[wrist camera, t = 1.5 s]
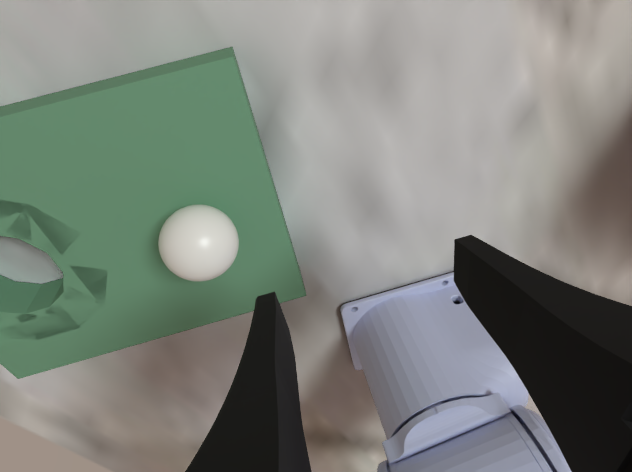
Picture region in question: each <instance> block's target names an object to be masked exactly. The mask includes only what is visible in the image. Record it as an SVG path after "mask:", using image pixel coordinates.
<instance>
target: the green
mask: <svg viewBox="0 0 632 472" xmlns="http://www.w3.org/2000/svg"><path fill="white" fill-rule="evenodd" d="M190 205H208V206H212V207H214V208H216V209H219V210H220V211H222V212H223V213H225V214H226V215H227V216H228V217H229V218H230V219H231V221H232V222H233V224H234V226H235V228H236V230H237V233H238V239H239V248H238V252H237V256H236V258H235V260H234V262H233V264H232V265H231V266H230V267H229V268H228V269H227V270H226V271H225V272H224V273H223V274H221V275H220V276H218V277H216V278H214V279H211V280H207V281H189V280H186V279H183V278H181V277H179V276H177V275H175V274H174V273H173V272H171V271H170V270H169V269H168V268H167V266H166V265H165V263H164V262H163V260H162V258H161V256H160V252H159V246H158V240H159V234H160V231H161V228H162V226H163V224H164V223H165V221H166V220H167V219H168V218H169V217H170V216H171V215H172V214H173V213H174V212H176V211H177V210H179V209H181V208H183V207H186V206H190ZM0 236H4V237H12V238H18V239H20V240H22V241H24V242H26V243H28V244H30V245H32V246H34V247H36V248H38V249H40V250H42V251H44V252H46V253H48V255H49V256H50V257H51V258H52V260H53V261H54V262H55V263H56V264H57V266H58V267H59V268H60V269H61V271H62V272H63V278H62V279H59V280H55V281H52V282H48V283H44V284H35V283H25V282H15V281H12V280H10V279H8V278H6V277H3V276H1V275H0V364H1V365H3V366H4V367H5V368H6V369H7V370H8V371H10V372H11V373H12V374H13V375H14V376H15V377H17V378H18V379H20V378H23V377H26V376H30V375H33V374H37V373H40V372H44V371H47V370H51V369H54V368H58V367H61V366H64V365H68V364H71V363H75V362H78V361H82V360H85V359H89V358H92V357H96V356H99V355H103V354H106V353H109V352H113V351H116V350H120V349H123V348H127V347H130V346H134V345H137V344H141V343H144V342H147V341H151V340H154V339H158V338H161V337H165V336H168V335H172V334H175V333H179V332H182V331H186V330H189V329H192V328H196V327H199V326H203V325H206V324H210V323H213V322H217V321H220V320H224V319H227V318H231V317H234V316H237V315H241V314H244V313H248V312H251V311H254V308H255V301H256V298H257V297H258V296H261V295H264V294H268V293H271V292H275V293H276V296H277V299H278V301H279V303H282V302H286V301H289V300H293V299H296V298H300V297H303V296H306V292H305V288H304V284H303V280H302V276H301V272H300V269H299V265H298V262H297V259H296V255H295V252H294V249H293V245H292V242H291V239H290V235H289V232H288V229H287V226H286V222H285V219H284V216H283V212H282V209H281V206H280V202H279V199H278V196H277V192H276V189H275V186H274V183H273V179H272V176H271V173H270V169H269V166H268V163H267V159H266V156H265V153H264V150H263V146H262V143H261V140H260V136H259V133H258V130H257V126H256V123H255V120H254V116H253V113H252V110H251V107H250V103H249V100H248V97H247V93H246V90H245V87H244V83H243V80H242V77H241V73H240V70H239V67H238V64H237V60H236V57H235V54H234V50H233V47H229V48H225V49H222V50H218V51H214V52H210V53H206V54H202V55H198V56H195V57H191V58H187V59H183V60H179V61H175V62H171V63H168V64H164V65H160V66H156V67H152V68H148V69H144V70H141V71H137V72H133V73H129V74H125V75H121V76H117V77H113V78H110V79H106V80H102V81H98V82H94V83H90V84H86V85H83V86H79V87H75V88H71V89H67V90H63V91H59V92H56V93H52V94H48V95H44V96H40V97H36V98H32V99H29V100H25V101H21V102H17V103H13V104H9V105H5V106H2V107H0Z"/></svg>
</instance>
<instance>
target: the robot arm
mask: <svg viewBox="0 0 632 472" xmlns="http://www.w3.org/2000/svg"><path fill="white" fill-rule="evenodd" d="M443 281H444V282H443ZM353 307H355V308H353ZM340 311H341V315H342V319H343V324H344V328H345V332H346V336H347V340H348V345H349V349H350V353H351V357H352V362H353V366H354V368H355V369H356V370H362V369H363V371H364V374H365V377H366V380H367V382H368V385H369V388H370V391H371V394H372V397H373V400H374V403H375V406H376V408H377V411H378V414H379V417H380V420H381V423H382V426H383V429H384V432H385V435H386V437H387V440H385V441H383V443H382V445H383V448H384V451H385V454H386V457H387V460H385V461H383V462H381V463H380V464H379V465H378V469H377V472H632V306H629V305H626V304H623V303H620V302H617V301H613V300H610V299H607V298H604V297H601V296H598V295H595V294H593V293H590V292H587V291H585V290H582V289H580V288H577V287H574V286H572V285H569V284H567V283H565V282H562V281H560V280H558V279H555V278H553V277H551V276H549V275H547V274H544V273H542V272H540V271H538V270H536V269H534V268H532V267H530V266H528V265H526V264H524V263H522V262H520V261H518V260H516V259H514V258H513V257H511V256H509V255H507V254H505V253H503V252H501V251H500V250H498V249H496V248H494V247H492V246H491V245H489V244H487V243H485V242H483V241H482V240H480V239H478V238H476V237H474V236H472V235H469V236H466V237H462V238H459V239H455V249H454V272H452V273H449V274H445V275H442V276H438V277H435V278H431V279H428V280H425V281H421V282H418V283H414V284H411V285H407V286H404V287H401V288H397V289H394V290H390V291H387V292H383V293H380V294H377V295H373V296H370V297H366V298H363V299H359V300H356V301H353V302H349V303H346V304H343V305H342V306H341V308H340ZM528 393H529V394H530V396H531V398H532V399H533V401H534V403H535V405H536V406H537V408H538V410H539V412H540V413H541V415H542V417H543V419H544V420H545V421H544V420H543V419H542V418H541V417H540V416H539V415H538V414H537V413H536V412H534V411H532V410H529V409H527V408H525V406H526V405H527V403H528ZM185 472H311V467H310V462H309V457H308V452H307V447H306V442H305V437H304V432H303V426H302V419H301V411H300V401H299V392H298V382H297V372H296V363H295V355H294V350H293V345H292V341H291V336H290V332H289V328H288V325H287V323H286V320H285V317H284V315H283V312H282V309H281V307H280V304H279V301H278V299H277V296H276V293H275V292H271V293H268V294H264V295H261V296H258V297H257V298H256V301H255V308H254V314H253V319H252V323H251V327H250V331H249V335H248V338H247V342H246V346H245V349H244V352H243V355H242V358H241V361H240V364H239V367H238V370H237V373H236V375H235V378H234V380H233V383H232V385H231V388H230V390H229V392H228V395H227V397H226V399H225V401H224V404H223V406H222V408H221V410H220V412H219V414H218V416H217V418H216V420H215V422H214V424H213V426H212V428H211V429H210V431H209V433H208V435H207V437H206V438H205V440H204V442H203V443H202V445H201V447H200V449H199V450H198V452H197V454H196V455H195V457H194V459H193V460H192V462H191V464H190V465H189V467H188V468H187V470H186V471H185Z"/></svg>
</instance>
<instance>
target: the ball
mask: <svg viewBox="0 0 632 472" xmlns="http://www.w3.org/2000/svg"><path fill="white" fill-rule="evenodd" d="M158 246H159V252H160V256H161V258H162V260H163V262H164V263H165V265H166V266H167V268H168V269H169V270H170V271H171V272H173V273H174V274H175V275H177V276H179V277H181V278H183V279H186V280H189V281H207V280H211V279H214V278H216V277H218V276H220V275H221V274H223V273H224V272H225V271H226V270H227V269H228V268H229V267H230V266H231V265H232V264H233V262H234V260H235V258H236V256H237V252H238V248H239V239H238V233H237V230H236V228H235V226H234V224H233V222H232V221H231V219H230V218H229V217H228V216H227V215H226V214H225V213H223V212H222V211H220V210H219V209H216V208H214V207H212V206H208V205H190V206H186V207H183V208H181V209H179V210H177V211H176V212H174V213H173V214H172V215H171V216H170V217H169V218H168V219H167V220H166V221H165V223H164V224H163V226H162V228H161V231H160V234H159V240H158Z"/></svg>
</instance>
